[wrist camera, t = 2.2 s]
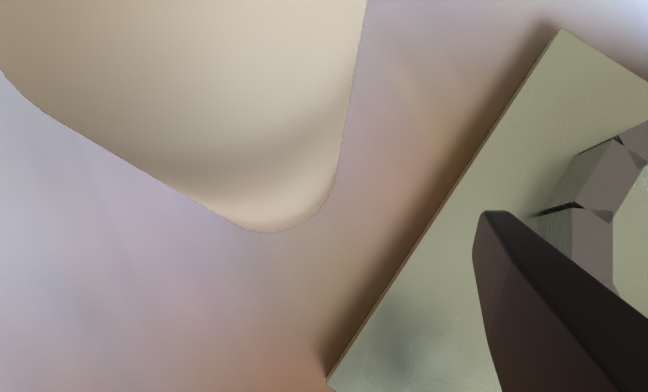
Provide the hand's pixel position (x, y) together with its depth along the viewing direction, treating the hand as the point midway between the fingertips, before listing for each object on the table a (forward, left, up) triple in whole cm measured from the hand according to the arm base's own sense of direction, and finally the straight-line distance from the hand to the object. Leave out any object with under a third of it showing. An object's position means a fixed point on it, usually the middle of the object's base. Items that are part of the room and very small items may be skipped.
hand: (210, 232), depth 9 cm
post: (+3, +2, -10) cm, 11 cm away
